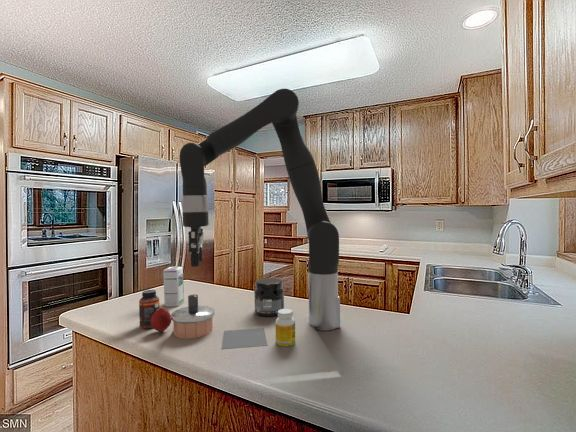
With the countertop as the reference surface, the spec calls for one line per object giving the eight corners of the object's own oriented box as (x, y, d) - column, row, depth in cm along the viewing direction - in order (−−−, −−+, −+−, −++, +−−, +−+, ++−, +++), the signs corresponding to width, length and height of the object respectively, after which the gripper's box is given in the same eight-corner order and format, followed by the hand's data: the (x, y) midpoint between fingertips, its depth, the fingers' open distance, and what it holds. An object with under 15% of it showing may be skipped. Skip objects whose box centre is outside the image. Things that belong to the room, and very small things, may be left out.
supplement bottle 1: (163, 325, 98) (162, 290, 98) (144, 331, 94) (143, 294, 94) (155, 321, 102) (154, 287, 102) (136, 326, 98) (135, 291, 98)
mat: (264, 331, 93) (264, 327, 93) (267, 349, 81) (267, 345, 81) (224, 334, 91) (223, 330, 91) (221, 352, 79) (221, 349, 79)
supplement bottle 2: (276, 341, 86) (275, 307, 85) (295, 341, 86) (294, 307, 85) (275, 350, 80) (274, 314, 80) (295, 350, 80) (295, 314, 80)
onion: (165, 326, 97) (165, 302, 97) (175, 331, 94) (174, 305, 93) (147, 332, 93) (146, 306, 92) (157, 337, 89) (156, 310, 89)
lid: (216, 307, 99) (215, 289, 98) (212, 321, 86) (212, 300, 86) (176, 310, 97) (175, 291, 97) (166, 324, 84) (166, 303, 84)
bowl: (214, 325, 98) (213, 308, 98) (210, 339, 87) (210, 320, 87) (178, 327, 96) (178, 310, 96) (170, 343, 85) (170, 323, 85)
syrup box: (179, 306, 118) (178, 269, 117) (163, 306, 118) (162, 269, 117) (184, 301, 123) (183, 266, 123) (169, 302, 123) (168, 266, 123)
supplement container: (274, 307, 115) (274, 276, 114) (290, 316, 106) (289, 281, 105) (249, 313, 109) (248, 280, 108) (263, 322, 100) (263, 286, 100)
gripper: (205, 210, 86) (207, 267, 87) (210, 210, 100) (211, 259, 101) (178, 211, 85) (180, 269, 85) (186, 211, 99) (187, 260, 99)
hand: (197, 263), depth 93 cm, fingers open, 8 cm apart
